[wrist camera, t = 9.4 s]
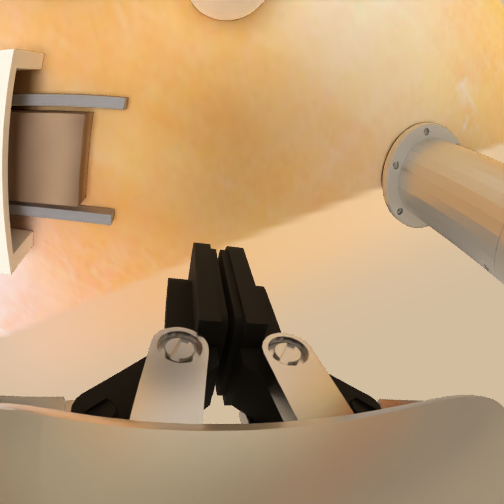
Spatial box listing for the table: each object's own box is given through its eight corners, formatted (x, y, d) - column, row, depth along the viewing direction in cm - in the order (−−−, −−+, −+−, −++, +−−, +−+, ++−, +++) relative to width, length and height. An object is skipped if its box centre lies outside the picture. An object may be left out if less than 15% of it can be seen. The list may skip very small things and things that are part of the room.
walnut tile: (94, 111, 24) (85, 114, 21) (87, 195, 27) (78, 206, 25) (-3, 110, 21) (-19, 114, 18) (-5, 188, 24) (-19, 198, 22)
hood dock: (136, 55, 22) (124, 47, 17) (112, 253, 30) (100, 287, 25) (-6, 57, 18) (-40, 56, 13) (-10, 238, 26) (-36, 266, 21)
